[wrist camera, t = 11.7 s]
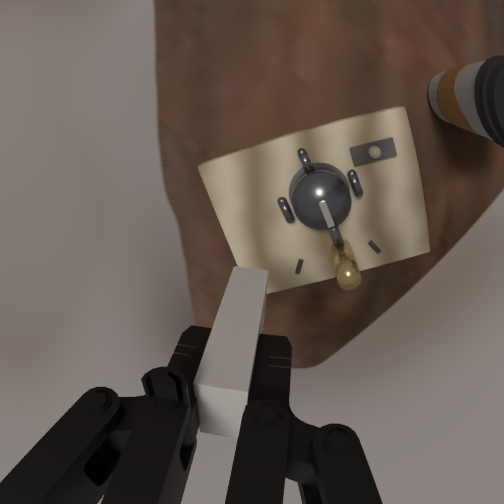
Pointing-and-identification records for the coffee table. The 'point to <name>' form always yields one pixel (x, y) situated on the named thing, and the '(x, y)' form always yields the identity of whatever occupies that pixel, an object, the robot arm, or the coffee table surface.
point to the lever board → (341, 161)
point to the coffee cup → (472, 97)
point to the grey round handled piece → (326, 212)
